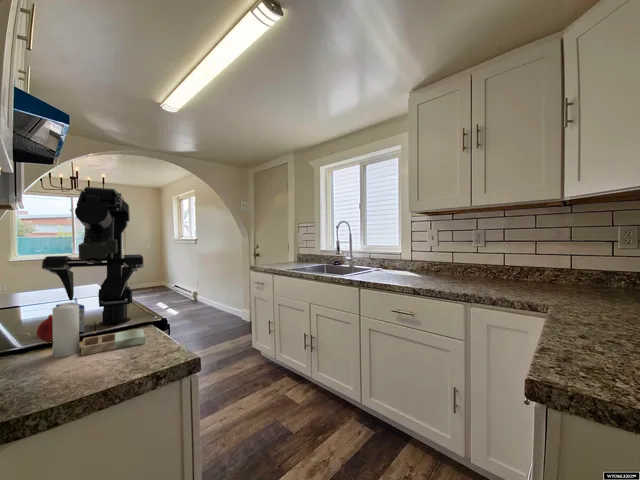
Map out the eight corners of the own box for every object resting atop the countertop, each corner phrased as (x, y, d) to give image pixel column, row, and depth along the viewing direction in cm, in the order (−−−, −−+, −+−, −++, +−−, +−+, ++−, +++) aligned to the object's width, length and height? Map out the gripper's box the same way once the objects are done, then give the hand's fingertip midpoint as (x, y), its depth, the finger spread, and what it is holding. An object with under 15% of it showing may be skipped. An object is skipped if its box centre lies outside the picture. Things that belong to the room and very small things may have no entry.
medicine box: (55, 332, 85) (55, 304, 85) (73, 327, 89) (73, 301, 89) (66, 336, 82) (66, 307, 81) (84, 332, 86) (84, 304, 85)
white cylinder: (68, 348, 73) (68, 304, 73) (84, 350, 72) (84, 305, 72) (47, 356, 68) (46, 309, 68) (63, 358, 67) (63, 310, 67)
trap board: (81, 355, 69) (81, 347, 69) (83, 345, 75) (83, 338, 75) (145, 343, 77) (145, 336, 77) (142, 334, 84) (142, 328, 84)
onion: (69, 337, 81) (69, 311, 80) (59, 345, 75) (59, 316, 75) (44, 340, 79) (44, 312, 78) (31, 348, 73) (31, 318, 73)
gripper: (35, 225, 57) (28, 301, 54) (142, 227, 67) (141, 292, 64) (52, 237, 66) (47, 303, 63) (143, 238, 76) (143, 295, 73)
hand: (96, 298), depth 66 cm, fingers open, 9 cm apart
